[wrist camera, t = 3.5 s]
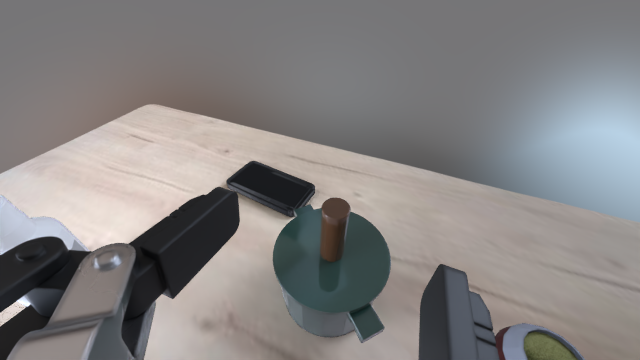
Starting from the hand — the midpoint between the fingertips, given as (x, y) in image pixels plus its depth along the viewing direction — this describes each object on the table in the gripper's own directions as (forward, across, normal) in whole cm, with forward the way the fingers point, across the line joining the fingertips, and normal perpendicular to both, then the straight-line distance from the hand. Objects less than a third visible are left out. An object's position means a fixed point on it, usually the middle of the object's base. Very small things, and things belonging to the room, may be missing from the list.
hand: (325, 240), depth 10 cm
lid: (+12, +2, +15) cm, 19 cm away
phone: (+27, +17, +21) cm, 38 cm away
